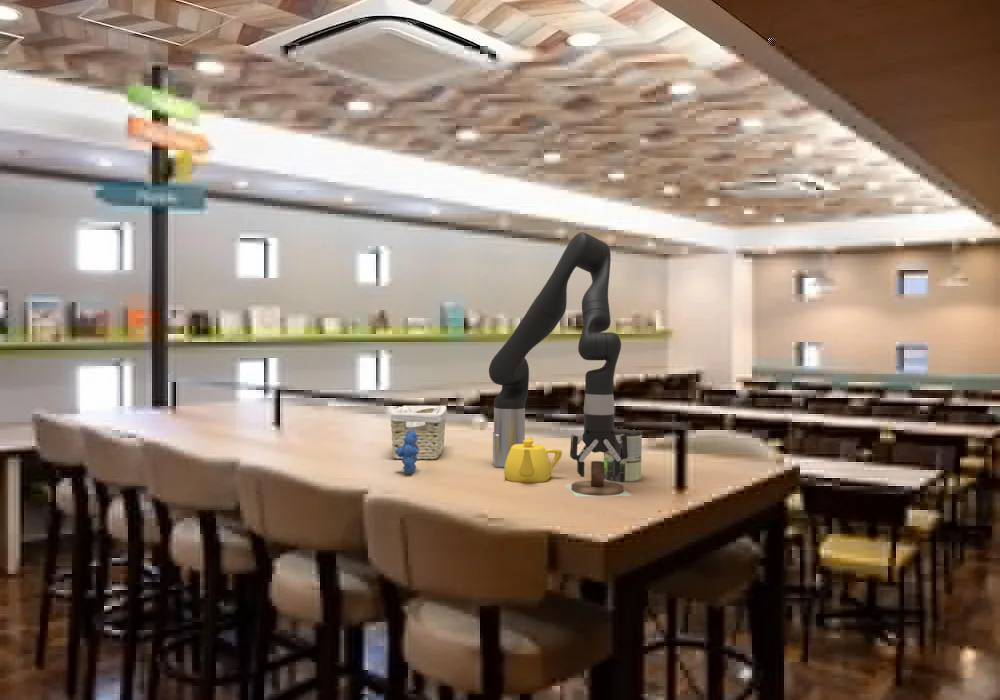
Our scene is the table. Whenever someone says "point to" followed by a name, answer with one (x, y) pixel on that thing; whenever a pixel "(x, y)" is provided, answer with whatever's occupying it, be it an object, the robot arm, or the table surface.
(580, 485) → the lid
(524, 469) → the teapot
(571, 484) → the mat
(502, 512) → the table surface
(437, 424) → the storage basket
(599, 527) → the table surface
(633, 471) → the coffee can
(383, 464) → the table surface
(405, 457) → the grapes
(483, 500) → the table surface
